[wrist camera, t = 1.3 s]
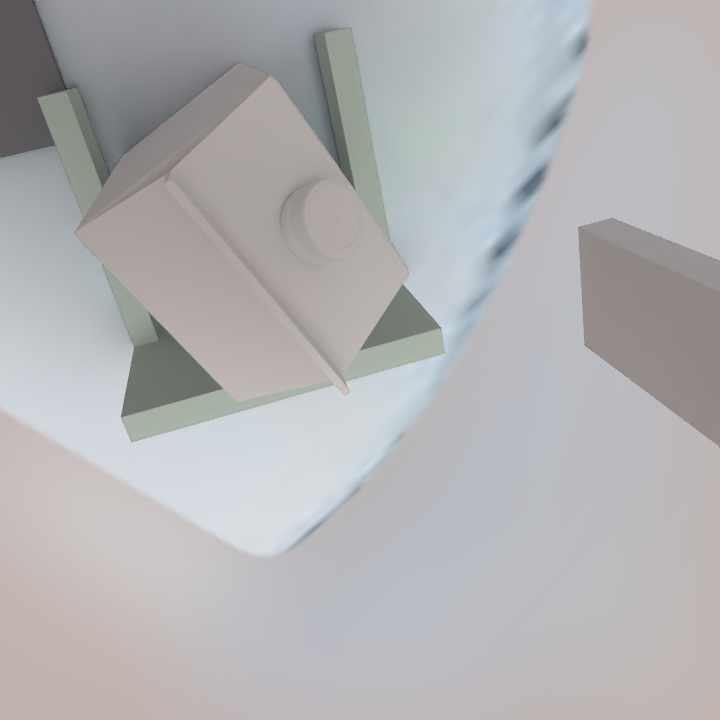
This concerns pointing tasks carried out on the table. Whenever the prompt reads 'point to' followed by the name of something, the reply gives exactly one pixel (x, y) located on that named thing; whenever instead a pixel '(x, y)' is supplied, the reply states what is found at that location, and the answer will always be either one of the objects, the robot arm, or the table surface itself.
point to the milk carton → (246, 240)
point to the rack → (158, 347)
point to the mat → (24, 78)
